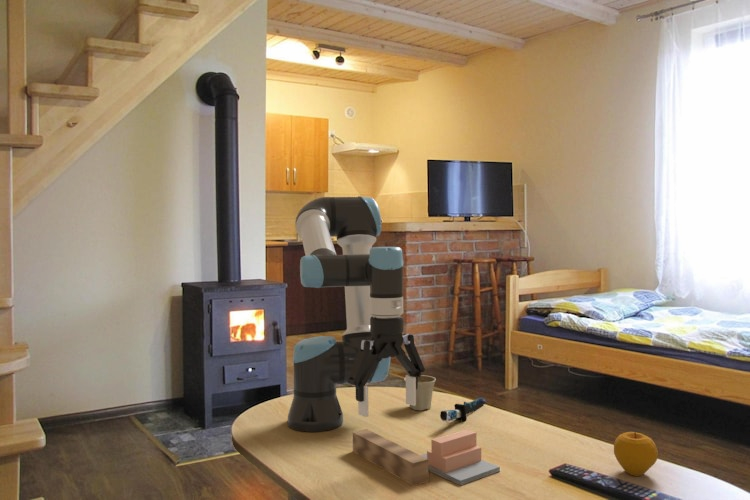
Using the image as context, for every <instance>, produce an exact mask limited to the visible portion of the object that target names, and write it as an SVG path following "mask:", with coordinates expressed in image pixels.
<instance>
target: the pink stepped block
mask: <svg viewBox="0 0 750 500" xmlns="http://www.w3.org/2000/svg"><path fill="white" fill-rule="evenodd" d="M430 440H431V443H430V444H431V449H430V450H426V453H424V454H420V455H421V456H423V457H425V458H427V459H428V472H431V473H433V474H435V475H437V476H440V477H442V478H443V479H446V480H448V481H450V482H452V483H454V484H457V485H459V486H463V485H465V484H469V483H471V482H474V481H476V480H480V479H482V478H484V477H485V478H486V477H488V476H490V475H494V474H496V473H499V472H501V470H500V467H501V466H499V465H496V464H494V463H491V462H490V461H486V460H484V459H482V447H481V446H479V445H477V432H476V431H473V430H471V429H463V430H459V431H457V432H452V433H449V434H446V435H443V436H439V437H436V438H435V437H434V438H433V439H430Z"/></svg>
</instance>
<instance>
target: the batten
mask: <svg viewBox="0 0 750 500" xmlns="http://www.w3.org/2000/svg"><path fill="white" fill-rule="evenodd" d="M352 452H353V453H355V454H356V455H359V456H360V457H362V458H364V460H366V461H368V462H371V463H373V464H374V465H376V466H377V467H380V468H381V469H383V470H385V471H386V472H389V473H390V474H392V475H393V476H395V477H398V478H399V479H401V480H402V481H404V482H406V483H408V484H410V485H412V486H417V485H420V484H424V483H426V482H429V471H428V459H427V458H425V457H423V456H421V455H422V454H418V453H417V452H414V451H412V450H410V449H408V448H406V447H404V446H402V445H400V444H398V443H396V442H394V441H392V440H390V439H388V438H385V437H384V436H382V435H380V434H378V433H375V432H373V431H371V430H370V429H367V428H366V429H361V430H357V431H353V432H352Z"/></svg>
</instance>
